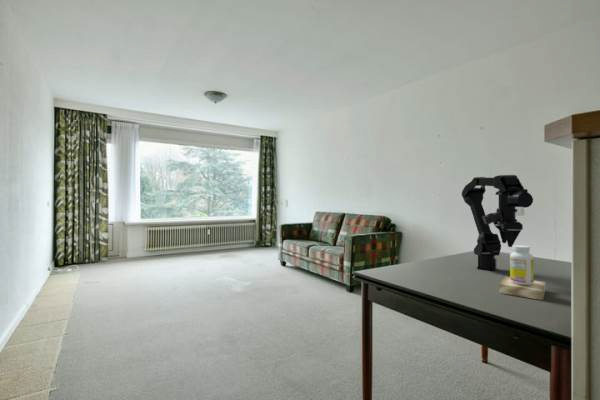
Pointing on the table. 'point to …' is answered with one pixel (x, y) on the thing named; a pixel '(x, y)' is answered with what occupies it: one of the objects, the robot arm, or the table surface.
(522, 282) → the supplement bottle
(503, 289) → the oak board
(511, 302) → the table surface
